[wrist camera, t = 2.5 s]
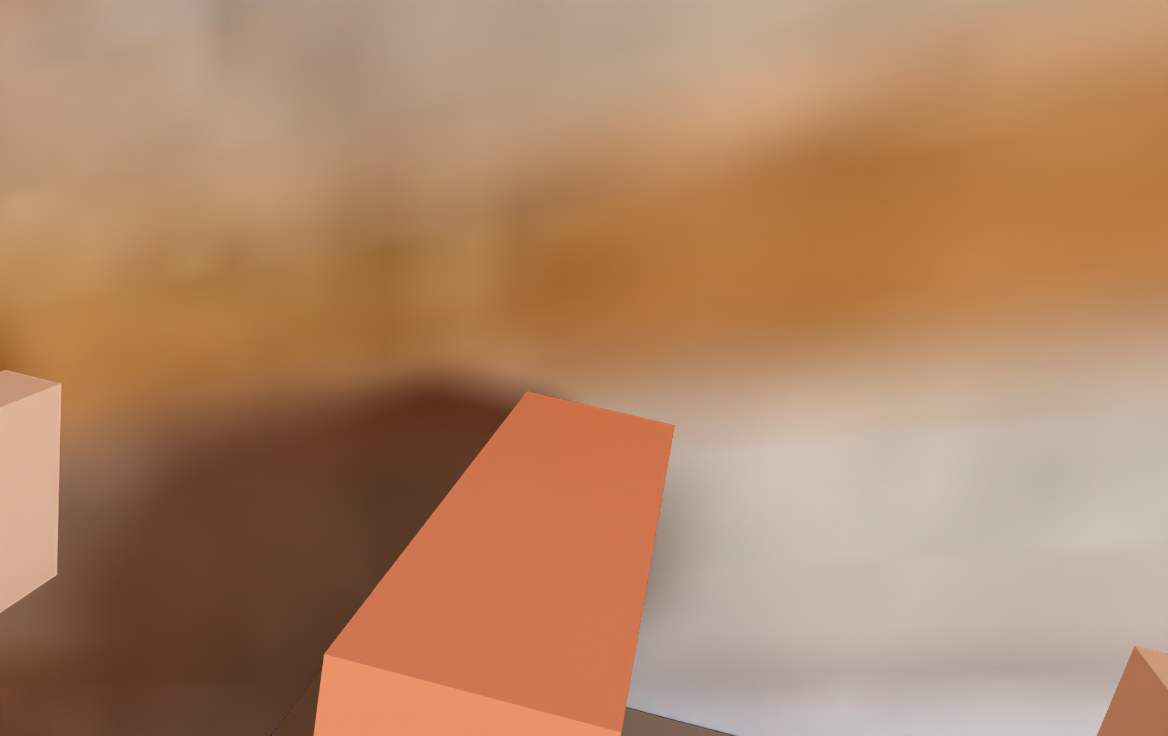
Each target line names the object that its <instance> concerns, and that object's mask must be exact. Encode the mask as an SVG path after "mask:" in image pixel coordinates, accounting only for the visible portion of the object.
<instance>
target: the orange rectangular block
mask: <svg viewBox="0 0 1168 736" xmlns="http://www.w3.org/2000/svg"><path fill="white" fill-rule="evenodd" d="M674 426H675V425H671V424H667V423H663V422H658V421H654V420H650V419H645V418H641V417H637V416H632V415H628V414H624V413H619V412H615V411H611V410H606V409H602V408H597V407H593V406H589V405H584V404H580V403H576V402H571V401H567V400H563V399H558V398H554V397H550V396H545V395H541V394H537V393H532V392H528V391H527V392H526V393H525V395H524V396H523V397H522V398H521V400H520V401H519V402H518V404H517V405H516V406H515V407H514V409H513V410H512V411H511V413H510V414H509V415H508V417H507V418H506V419H505V420H504V422H503V423H502V424H501V426H500V427H499V428H498V429H497V431H496V432H495V433H494V435H493V436H492V437H491V439H490V440H489V441H488V442H487V444H486V445H485V446H484V448H483V449H482V450H481V451H480V453H479V454H478V455H477V457H476V458H475V459H474V461H473V462H472V463H471V464H470V466H469V467H468V468H467V470H466V471H465V472H464V474H463V475H462V476H461V477H460V479H459V480H458V481H457V483H456V484H455V485H454V486H453V488H452V489H451V490H450V492H449V493H448V494H447V496H446V497H445V498H444V499H443V501H442V502H441V503H440V505H439V506H438V507H437V508H436V510H435V511H434V512H433V514H432V515H431V516H430V518H429V519H428V520H427V521H426V523H425V524H424V525H423V527H422V528H421V529H420V530H419V532H418V533H417V534H416V536H415V537H414V538H413V540H412V541H411V542H410V543H409V545H408V546H407V547H406V549H405V550H404V551H403V552H402V554H401V555H400V556H399V558H398V559H397V560H396V562H395V563H394V564H393V565H392V567H391V568H390V569H389V571H388V572H387V573H386V574H385V576H384V577H383V578H382V580H381V581H380V582H379V584H378V585H377V586H376V587H375V589H374V590H373V591H372V593H371V594H370V595H369V596H368V598H367V599H366V600H365V602H364V603H363V604H362V606H361V607H360V608H359V609H358V611H357V612H356V613H355V615H354V616H353V617H352V618H351V620H350V621H349V622H348V624H347V625H346V626H345V628H344V629H343V630H342V631H341V633H340V634H339V635H338V637H337V638H336V639H335V641H334V642H333V643H332V644H331V646H330V647H329V648H328V650H327V651H326V652H325V653H324V659H323V666H322V674H321V682H320V690H319V697H318V705H317V713H316V721H315V728H314V736H621V732H622V726H623V720H624V714H625V708H626V703H627V697H628V691H629V685H630V680H631V674H632V668H633V662H634V657H635V651H636V645H637V639H638V634H639V628H640V622H641V616H642V611H643V605H644V599H645V593H646V587H647V582H648V576H649V570H650V564H651V559H652V553H653V547H654V541H655V536H656V530H657V524H658V518H659V513H660V507H661V501H662V495H663V489H664V484H665V478H666V472H667V466H668V461H669V455H670V449H671V443H672V438H673V432H674Z"/></svg>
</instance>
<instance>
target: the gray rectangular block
mask: <svg viewBox="0 0 1168 736" xmlns="http://www.w3.org/2000/svg"><path fill="white" fill-rule="evenodd" d="M321 674H322V669H321V670H320V671H319V673H318V674H317V675H316V677H315V678H314V679H313V681H312V682H311V683H310V685H309V686H308V687H307V689H306V690H305V691H304V693H303V694H302V695H301V697H300V698H299V699H298V701H297V702H296V703H295V705H294V706H293V707H292V709H291V710H290V711H289V712H288V714H287V715H286V716H285V718H284V719H283V720H282V722H281V723H280V724H279V726H278V727H277V728H276V730H275V731H274V732H273V734H272V735H271V736H314V728H315V721H316V713H317V705H318V697H319V690H320V682H321ZM621 736H732V735H728V734H724V733H721V732H717V731H713V730H709V729H705V728H702V727H698V726H694V725H690V724H686V723H682V722H679V721H675V720H671V719H667V718H663V717H659V716H656V715H652V714H648V713H644V712H640V711H636V710H633V709H629V708H625V714H624V720H623V726H622V732H621Z"/></svg>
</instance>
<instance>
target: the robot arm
mask: <svg viewBox="0 0 1168 736" xmlns="http://www.w3.org/2000/svg"><path fill="white" fill-rule="evenodd" d="M60 417H61V383H58V382H54V381H49V380H45V379H41V378H37V377H33V376H29V375H25V374H21V373H17V372H13V371H9V370H4V371H1V372H0V613H1V612H3V611H4V610H5V609H7V608H8V607H10V606H11V605H13V604H14V603H16V602H17V601H19V600H20V599H22V598H23V597H25V596H26V595H28V594H29V593H31V592H32V591H34V590H35V589H37V588H38V587H40V586H41V585H43V584H44V583H46V582H47V581H49V580H50V579H52V578H53V577H55V576H56V575H57V553H58V508H59V463H60ZM1097 736H1168V654H1166V653H1162V652H1158V651H1154V650H1150V649H1146V648H1142V647H1138V646H1134V649H1133V651H1132V654H1131V656H1130V658H1129V661H1128V663H1127V665H1126V668H1125V670H1124V673H1123V675H1122V677H1121V680H1120V682H1119V684H1118V687H1117V689H1116V692H1115V694H1114V696H1113V699H1112V701H1111V703H1110V706H1109V708H1108V711H1107V713H1106V715H1105V718H1104V720H1103V723H1102V725H1101V727H1100V730H1099V732H1098V734H1097Z"/></svg>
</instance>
